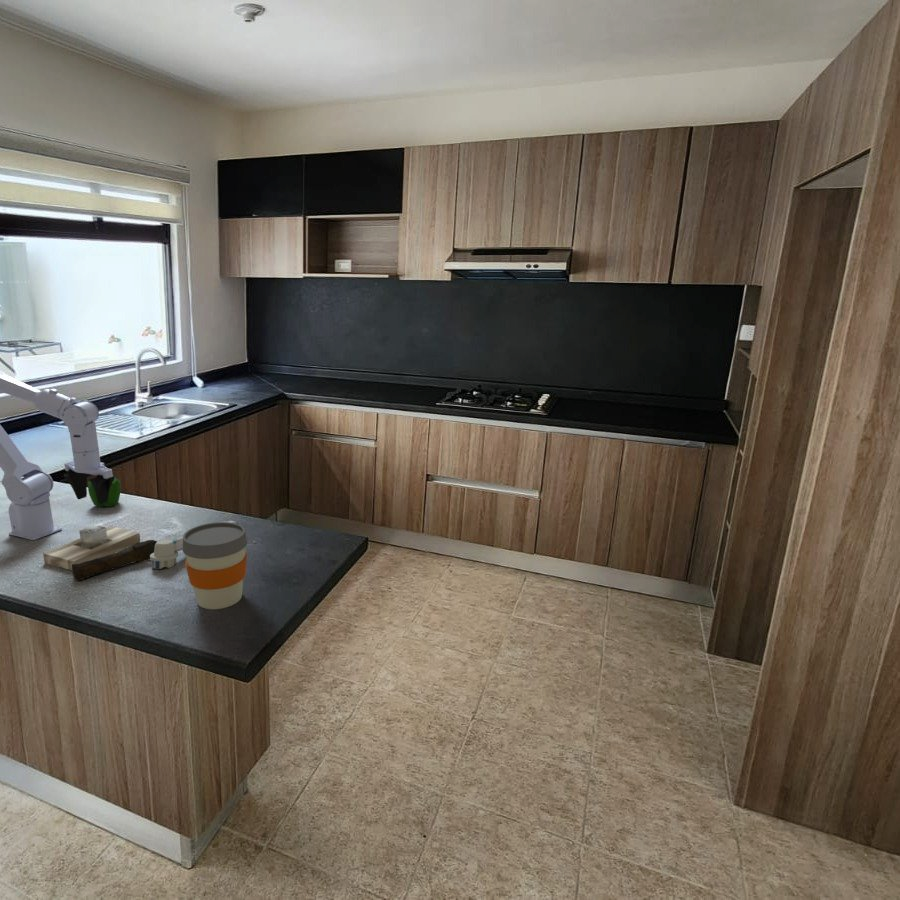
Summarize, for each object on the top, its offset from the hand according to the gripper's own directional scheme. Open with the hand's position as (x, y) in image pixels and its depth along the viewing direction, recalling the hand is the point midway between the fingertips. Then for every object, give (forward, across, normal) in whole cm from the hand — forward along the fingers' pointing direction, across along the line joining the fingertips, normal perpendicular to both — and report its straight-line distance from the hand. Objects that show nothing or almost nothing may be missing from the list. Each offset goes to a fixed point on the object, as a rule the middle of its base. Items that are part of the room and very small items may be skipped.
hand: (92, 500), depth 154 cm
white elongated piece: (+10, -30, -4) cm, 32 cm away
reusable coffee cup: (+10, -52, +12) cm, 54 cm away
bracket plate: (+9, -9, +8) cm, 15 cm away
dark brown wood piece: (+10, -20, +11) cm, 25 cm away
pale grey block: (+9, -9, +8) cm, 15 cm away
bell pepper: (+10, +16, -16) cm, 25 cm away
